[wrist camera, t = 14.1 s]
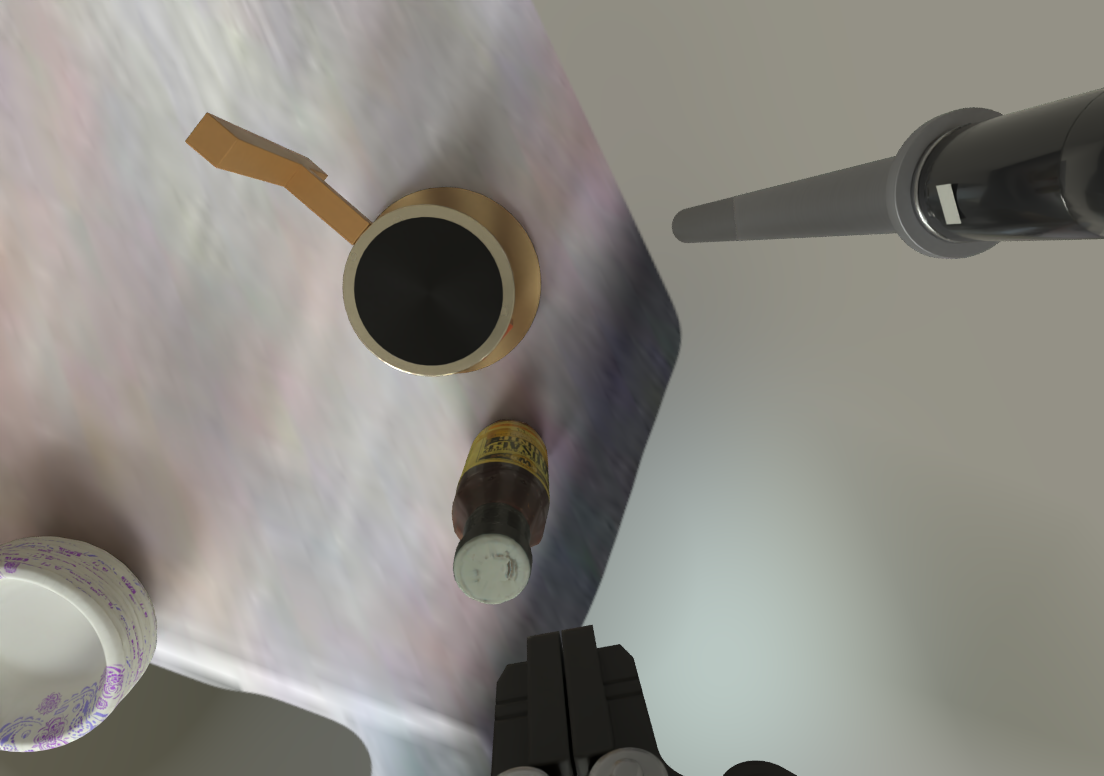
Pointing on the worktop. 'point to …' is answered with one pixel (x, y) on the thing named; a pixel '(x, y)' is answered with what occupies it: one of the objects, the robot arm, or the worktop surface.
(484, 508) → the sauce bottle
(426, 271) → the flanged cylinder with handle
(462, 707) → the worktop surface
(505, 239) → the turntable
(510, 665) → the robot arm
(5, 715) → the white purple floral bowl
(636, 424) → the worktop surface
